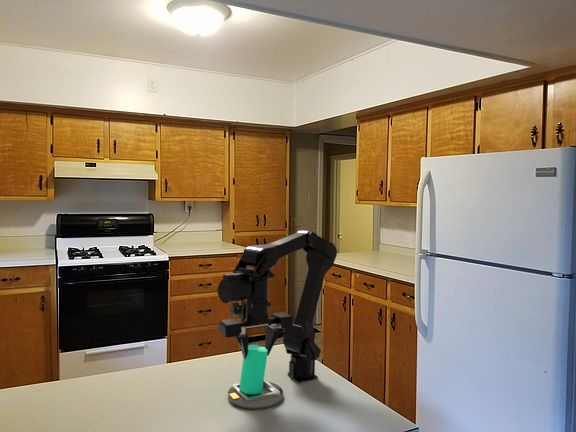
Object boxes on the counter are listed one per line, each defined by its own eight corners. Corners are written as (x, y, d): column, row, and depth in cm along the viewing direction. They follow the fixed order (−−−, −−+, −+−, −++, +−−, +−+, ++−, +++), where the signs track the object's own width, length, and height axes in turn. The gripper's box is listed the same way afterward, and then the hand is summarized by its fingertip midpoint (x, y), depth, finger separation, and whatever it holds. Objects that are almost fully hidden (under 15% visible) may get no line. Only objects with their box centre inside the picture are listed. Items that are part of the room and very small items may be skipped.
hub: (267, 381, 123) (267, 373, 123) (292, 402, 111) (293, 393, 110) (219, 391, 116) (219, 383, 116) (241, 415, 104) (241, 406, 104)
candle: (258, 396, 109) (265, 347, 109) (235, 390, 110) (242, 342, 110) (265, 388, 115) (271, 342, 115) (243, 382, 116) (250, 337, 116)
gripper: (274, 286, 123) (274, 342, 124) (210, 293, 114) (210, 353, 115) (295, 295, 114) (294, 355, 115) (226, 303, 105) (226, 368, 105)
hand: (256, 357), depth 113 cm, fingers closed on candle, 6 cm apart
